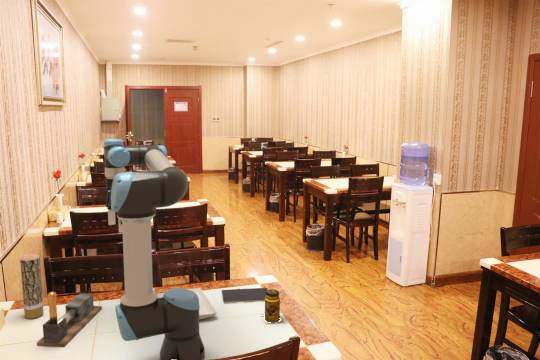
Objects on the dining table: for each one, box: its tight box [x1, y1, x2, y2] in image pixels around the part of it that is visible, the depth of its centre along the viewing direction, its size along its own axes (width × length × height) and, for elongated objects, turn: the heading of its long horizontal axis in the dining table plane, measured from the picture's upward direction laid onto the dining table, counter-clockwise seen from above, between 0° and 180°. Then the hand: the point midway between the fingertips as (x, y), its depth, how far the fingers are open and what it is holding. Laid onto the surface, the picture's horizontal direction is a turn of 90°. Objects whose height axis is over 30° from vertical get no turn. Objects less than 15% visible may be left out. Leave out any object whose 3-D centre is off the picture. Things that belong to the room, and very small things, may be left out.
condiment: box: [261, 289, 284, 324], centre depth 180 cm, size 7×8×12 cm
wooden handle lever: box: [46, 291, 77, 325], centre depth 165 cm, size 18×3×16 cm, turn 176°
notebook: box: [221, 287, 269, 304], centre depth 202 cm, size 13×2×21 cm
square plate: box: [157, 287, 217, 320], centre depth 186 cm, size 27×27×4 cm
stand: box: [36, 292, 103, 348], centre depth 172 cm, size 30×10×8 cm, turn 176°
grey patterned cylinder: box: [19, 253, 44, 320], centre depth 178 cm, size 7×7×25 cm
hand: (117, 228), depth 183 cm, fingers open, 13 cm apart
